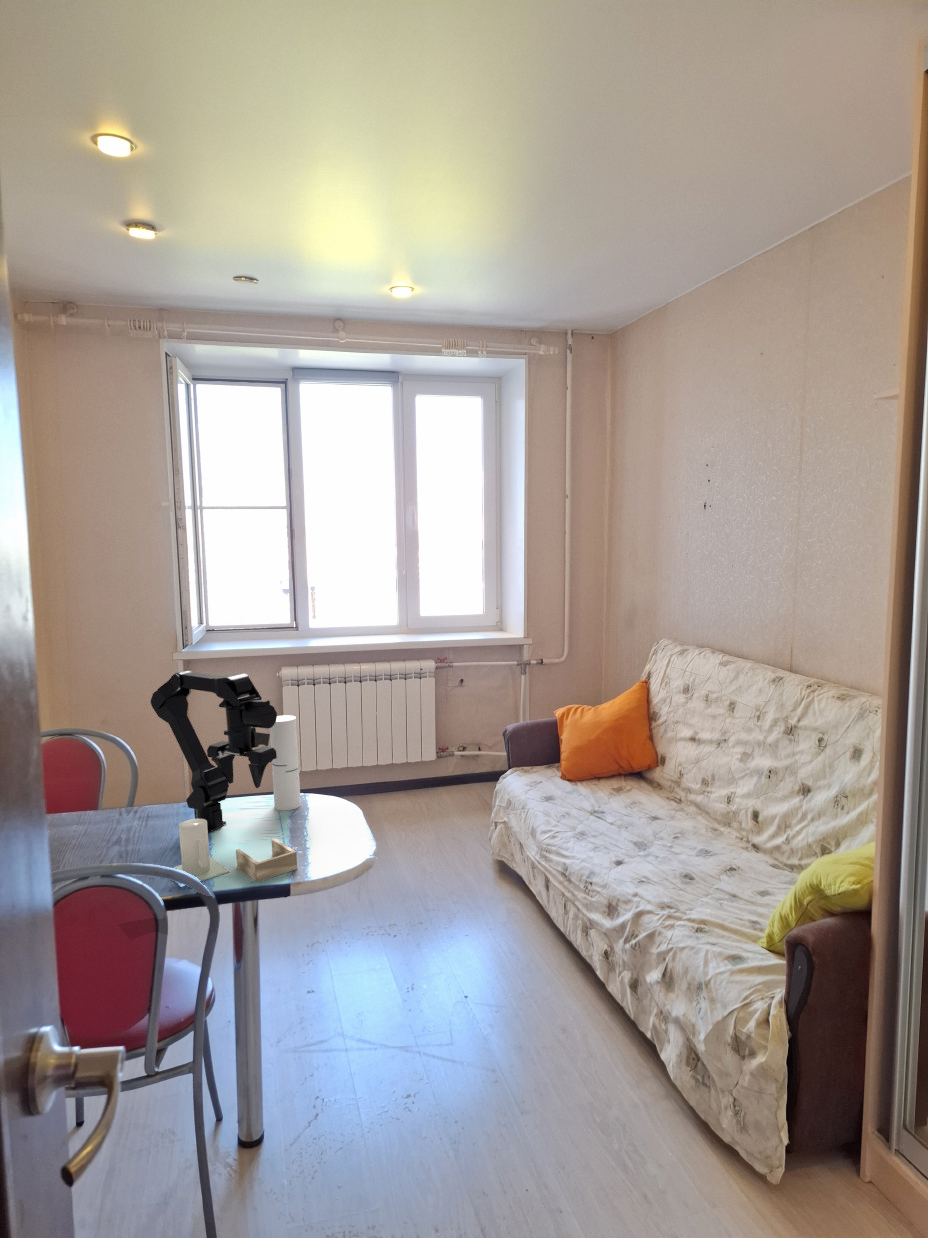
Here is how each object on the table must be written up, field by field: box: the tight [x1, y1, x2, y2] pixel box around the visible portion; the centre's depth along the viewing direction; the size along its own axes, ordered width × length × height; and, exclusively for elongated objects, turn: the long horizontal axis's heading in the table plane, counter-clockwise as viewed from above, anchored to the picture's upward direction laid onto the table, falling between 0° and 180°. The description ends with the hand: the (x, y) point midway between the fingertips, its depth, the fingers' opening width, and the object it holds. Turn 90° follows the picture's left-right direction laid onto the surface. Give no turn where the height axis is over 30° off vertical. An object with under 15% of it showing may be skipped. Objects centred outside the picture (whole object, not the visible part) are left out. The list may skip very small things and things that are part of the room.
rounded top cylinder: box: [178, 818, 210, 876], centre depth 171 cm, size 8×6×11 cm
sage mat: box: [173, 855, 231, 882], centre depth 173 cm, size 11×11×1 cm
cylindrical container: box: [269, 714, 302, 811], centre depth 212 cm, size 7×7×25 cm
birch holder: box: [235, 838, 298, 883], centre depth 174 cm, size 11×10×4 cm
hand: (244, 785), depth 192 cm, fingers open, 9 cm apart
